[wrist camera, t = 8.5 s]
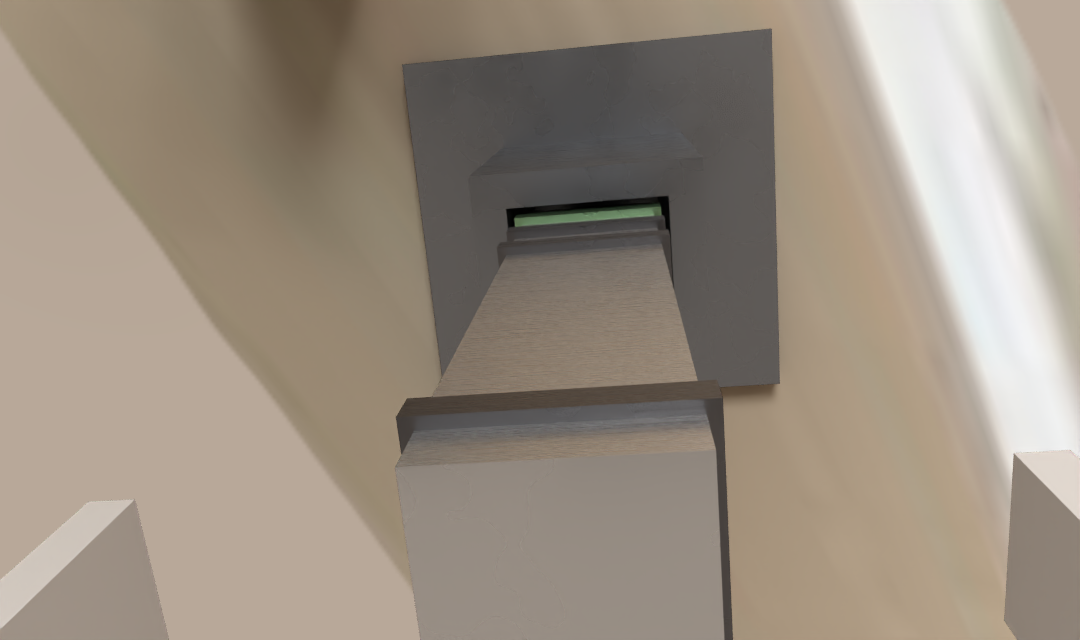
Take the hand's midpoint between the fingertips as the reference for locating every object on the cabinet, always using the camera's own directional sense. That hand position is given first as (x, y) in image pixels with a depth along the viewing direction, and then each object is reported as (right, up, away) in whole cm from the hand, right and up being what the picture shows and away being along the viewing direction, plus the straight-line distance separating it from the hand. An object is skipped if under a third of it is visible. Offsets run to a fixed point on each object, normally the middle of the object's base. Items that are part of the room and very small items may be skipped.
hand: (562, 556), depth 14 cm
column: (+2, +6, +21) cm, 22 cm away
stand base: (+2, +8, +29) cm, 30 cm away
